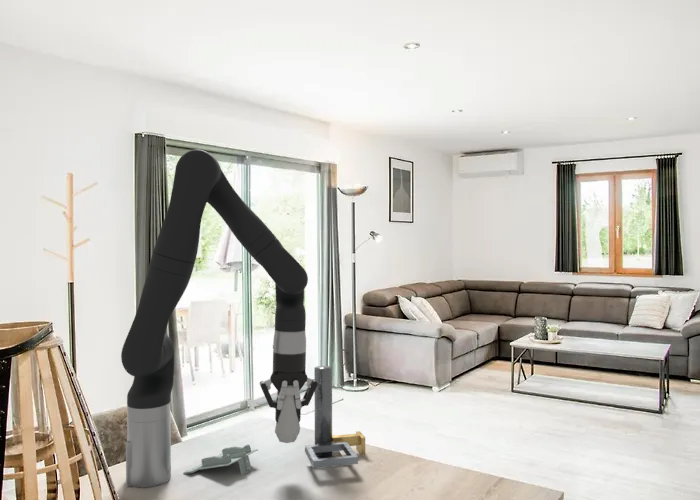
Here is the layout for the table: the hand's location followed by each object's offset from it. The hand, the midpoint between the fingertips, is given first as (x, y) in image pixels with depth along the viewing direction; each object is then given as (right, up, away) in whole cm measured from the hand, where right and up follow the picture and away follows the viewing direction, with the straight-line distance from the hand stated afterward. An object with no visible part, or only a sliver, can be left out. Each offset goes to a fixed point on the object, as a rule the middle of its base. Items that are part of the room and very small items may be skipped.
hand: (287, 423), depth 133 cm
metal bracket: (-15, -12, +4) cm, 20 cm away
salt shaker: (0, -4, 0) cm, 4 cm away
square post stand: (+11, -11, +8) cm, 18 cm away
